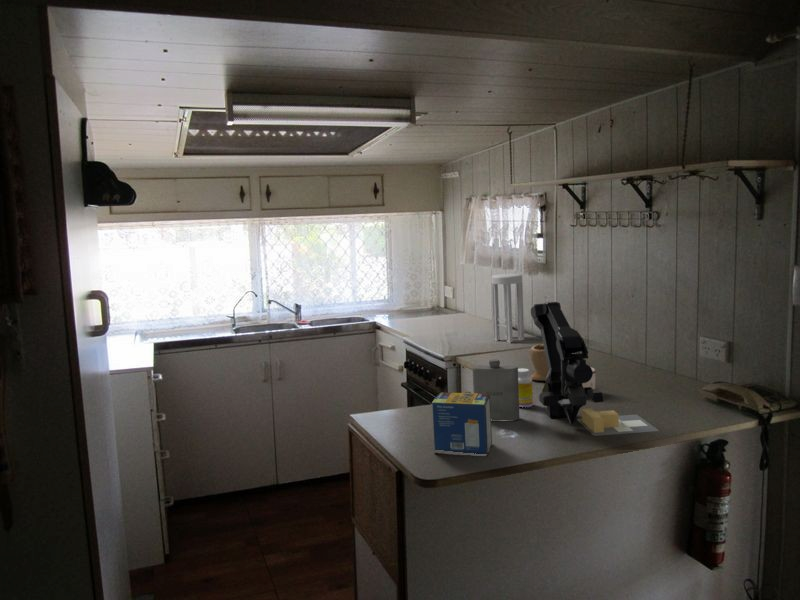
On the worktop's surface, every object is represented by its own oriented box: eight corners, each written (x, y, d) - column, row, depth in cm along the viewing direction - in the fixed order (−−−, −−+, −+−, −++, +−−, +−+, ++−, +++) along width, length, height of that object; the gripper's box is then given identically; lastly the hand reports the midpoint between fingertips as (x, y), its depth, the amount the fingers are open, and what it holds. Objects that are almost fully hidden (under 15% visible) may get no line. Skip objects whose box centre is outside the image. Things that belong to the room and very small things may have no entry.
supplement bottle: (536, 406, 220) (535, 370, 218) (519, 409, 218) (518, 373, 216) (527, 401, 226) (526, 366, 225) (510, 404, 225) (509, 369, 223)
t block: (594, 432, 191) (594, 419, 190) (581, 421, 202) (581, 409, 201) (623, 430, 191) (623, 417, 191) (609, 419, 202) (609, 407, 201)
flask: (472, 420, 209) (470, 361, 207) (475, 415, 215) (473, 357, 212) (518, 422, 205) (516, 362, 202) (520, 416, 210) (518, 358, 208)
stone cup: (526, 383, 251) (525, 346, 249) (533, 375, 261) (532, 340, 259) (565, 385, 244) (564, 347, 242) (571, 378, 255) (570, 341, 253)
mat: (593, 436, 188) (593, 435, 188) (576, 419, 204) (576, 418, 204) (659, 431, 189) (659, 430, 189) (636, 415, 205) (636, 414, 205)
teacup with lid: (572, 389, 239) (571, 359, 237) (597, 390, 235) (596, 360, 234) (567, 398, 228) (566, 366, 226) (593, 400, 224) (593, 367, 223)
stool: (507, 336, 347) (505, 273, 342) (529, 339, 335) (527, 274, 330) (488, 341, 338) (485, 275, 333) (510, 344, 325) (507, 277, 321)
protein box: (441, 441, 192) (439, 392, 190) (492, 444, 187) (490, 393, 185) (433, 454, 182) (431, 402, 180) (487, 457, 177) (484, 403, 175)
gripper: (548, 383, 185) (549, 435, 187) (610, 379, 186) (611, 430, 188) (538, 374, 196) (539, 423, 198) (597, 370, 197) (597, 418, 199)
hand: (571, 424), depth 196 cm, fingers closed
